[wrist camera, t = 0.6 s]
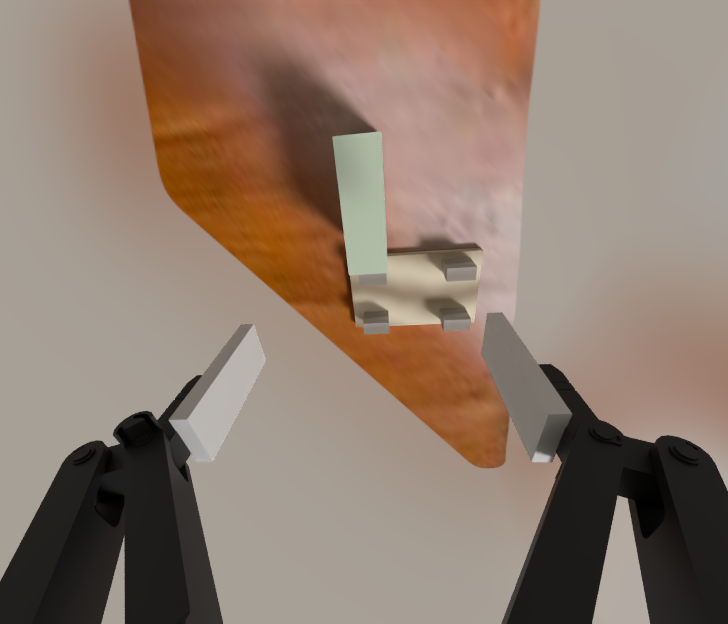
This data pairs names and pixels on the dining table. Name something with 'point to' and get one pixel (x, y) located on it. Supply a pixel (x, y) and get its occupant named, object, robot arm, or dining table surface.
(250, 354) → the robot arm
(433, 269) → the hinge bracket
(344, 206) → the door panel
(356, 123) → the dining table surface
